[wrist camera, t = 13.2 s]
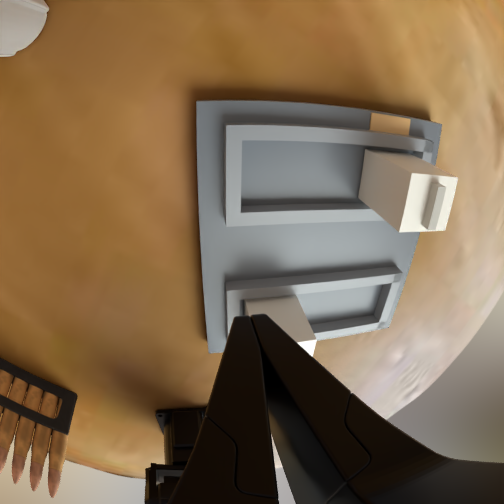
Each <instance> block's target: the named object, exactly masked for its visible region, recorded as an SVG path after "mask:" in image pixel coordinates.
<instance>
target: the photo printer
mask: <svg viewBox="0 0 504 504" xmlns="http://www.w3.org/2000/svg"><path fill="white" fill-rule="evenodd" d="M48 10H49V7H48V6H47V4H46V3H45V1H44V0H0V57H10V56H14V55H15V54H16V52H17V51H20V50H22V49H24V48H26V47H27V46H28V45H30V44H31V43H32V42H33V41H34V40H35V39H36V37H37V36H38V35H39V33H40V32H41V30H42V28H43V26H44V24H45V22H46V18H47V14H46V13H47V12H48Z"/></svg>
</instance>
